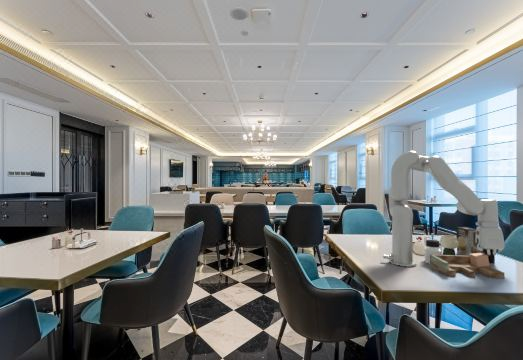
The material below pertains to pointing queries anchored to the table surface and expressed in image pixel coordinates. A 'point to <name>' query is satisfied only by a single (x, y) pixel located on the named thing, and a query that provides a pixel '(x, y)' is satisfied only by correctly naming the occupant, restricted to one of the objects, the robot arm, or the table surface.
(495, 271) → the trap box
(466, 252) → the coffee box
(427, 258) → the medicine bottle
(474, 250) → the coffee box
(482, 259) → the block
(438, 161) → the robot arm
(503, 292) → the table surface
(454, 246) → the character mug
